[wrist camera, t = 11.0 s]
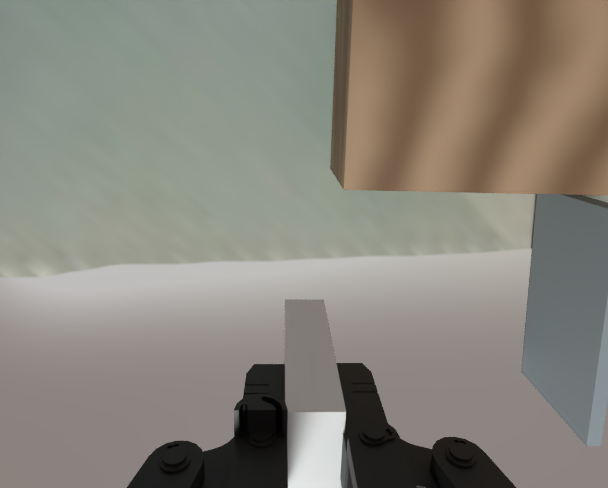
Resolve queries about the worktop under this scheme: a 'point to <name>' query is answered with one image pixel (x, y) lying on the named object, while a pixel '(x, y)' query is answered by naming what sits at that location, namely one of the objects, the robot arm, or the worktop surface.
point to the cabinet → (471, 96)
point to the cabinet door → (569, 311)
